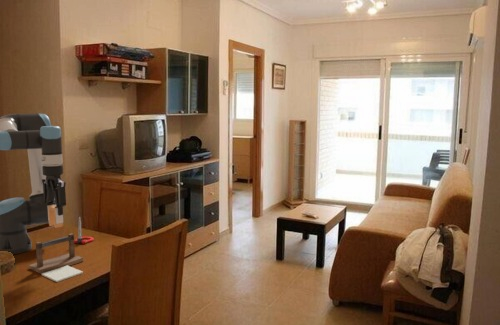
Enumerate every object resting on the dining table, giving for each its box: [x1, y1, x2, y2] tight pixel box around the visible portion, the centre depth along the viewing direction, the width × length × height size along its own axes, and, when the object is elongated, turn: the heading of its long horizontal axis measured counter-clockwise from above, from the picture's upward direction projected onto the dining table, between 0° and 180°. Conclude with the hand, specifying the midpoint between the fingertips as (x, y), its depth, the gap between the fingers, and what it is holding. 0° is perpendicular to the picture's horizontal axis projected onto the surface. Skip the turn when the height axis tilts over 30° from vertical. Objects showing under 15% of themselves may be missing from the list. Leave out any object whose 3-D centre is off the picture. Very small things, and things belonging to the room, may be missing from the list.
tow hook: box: [74, 216, 95, 245], centre depth 210 cm, size 8×13×9 cm
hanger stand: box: [28, 232, 84, 275], centre depth 179 cm, size 10×18×12 cm, turn 144°
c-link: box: [48, 205, 64, 229], centre depth 174 cm, size 5×3×8 cm, turn 54°
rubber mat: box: [41, 265, 84, 283], centre depth 170 cm, size 11×11×1 cm
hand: (55, 221), depth 175 cm, fingers closed on c-link, 5 cm apart
